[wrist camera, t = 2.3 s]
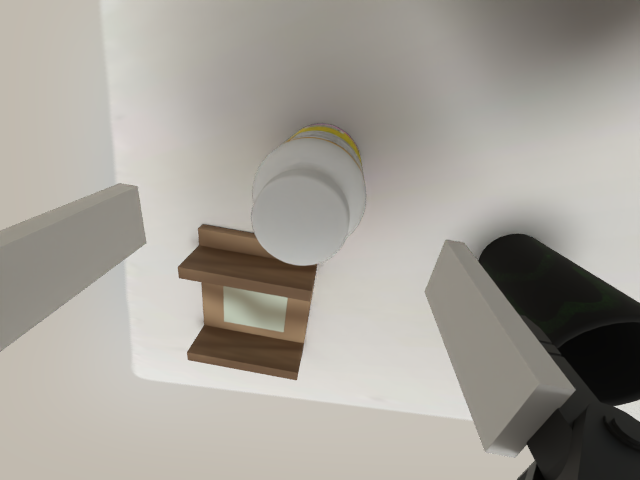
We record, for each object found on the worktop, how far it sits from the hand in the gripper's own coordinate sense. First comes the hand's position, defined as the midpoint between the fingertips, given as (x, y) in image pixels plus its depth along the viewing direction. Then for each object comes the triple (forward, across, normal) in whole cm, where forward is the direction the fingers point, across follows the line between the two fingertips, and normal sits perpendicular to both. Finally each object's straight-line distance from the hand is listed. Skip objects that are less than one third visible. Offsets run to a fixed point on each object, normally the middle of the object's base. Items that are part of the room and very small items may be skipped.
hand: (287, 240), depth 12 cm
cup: (+14, +19, -6) cm, 25 cm away
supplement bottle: (+14, 0, 0) cm, 14 cm away
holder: (+14, -5, -16) cm, 22 cm away
